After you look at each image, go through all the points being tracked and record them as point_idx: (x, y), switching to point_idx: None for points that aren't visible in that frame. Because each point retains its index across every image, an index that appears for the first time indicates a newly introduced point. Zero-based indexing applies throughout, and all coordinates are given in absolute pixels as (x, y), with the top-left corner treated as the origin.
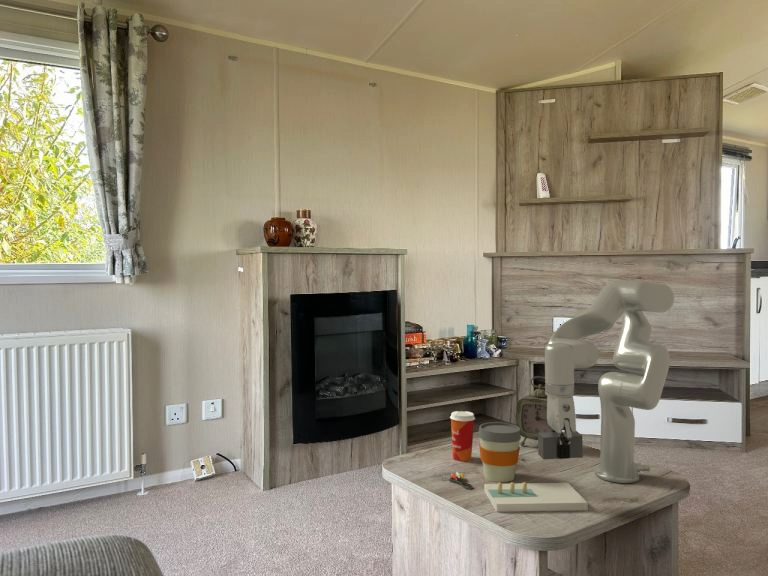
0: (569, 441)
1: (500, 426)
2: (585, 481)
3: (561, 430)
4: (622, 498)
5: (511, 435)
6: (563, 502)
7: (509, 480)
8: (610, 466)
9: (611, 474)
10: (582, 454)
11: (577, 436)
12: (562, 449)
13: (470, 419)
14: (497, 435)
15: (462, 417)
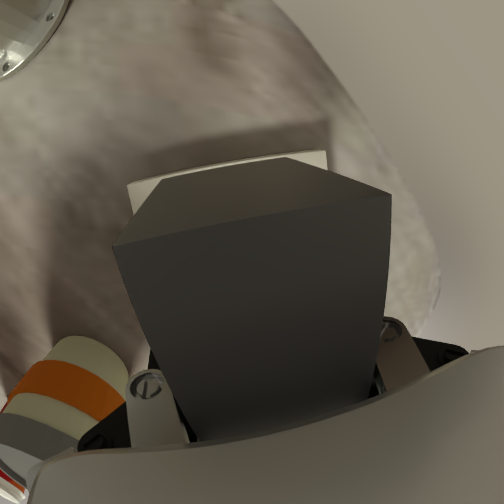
0: (408, 335)
1: (15, 466)
2: (49, 109)
3: (184, 434)
4: (197, 9)
5: None
6: None
7: (112, 352)
8: (17, 21)
9: (33, 25)
10: (292, 159)
11: (383, 267)
12: None
13: (1, 480)
14: None
15: (15, 496)
